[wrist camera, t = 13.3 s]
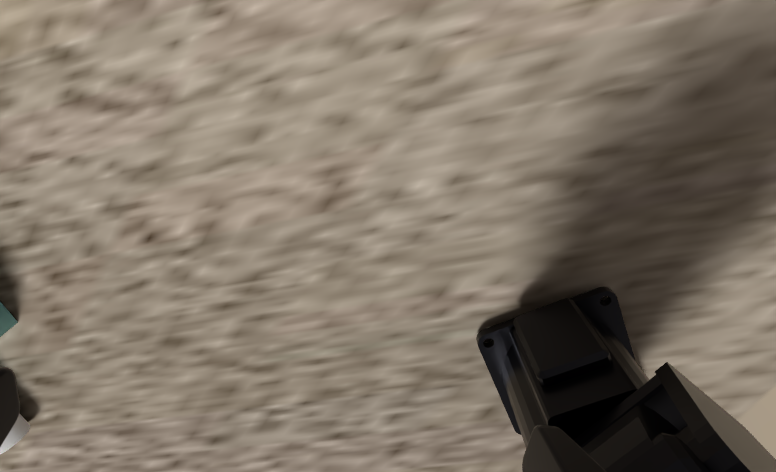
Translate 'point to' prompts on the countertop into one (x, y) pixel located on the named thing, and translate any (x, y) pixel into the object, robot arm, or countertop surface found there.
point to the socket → (3, 321)
